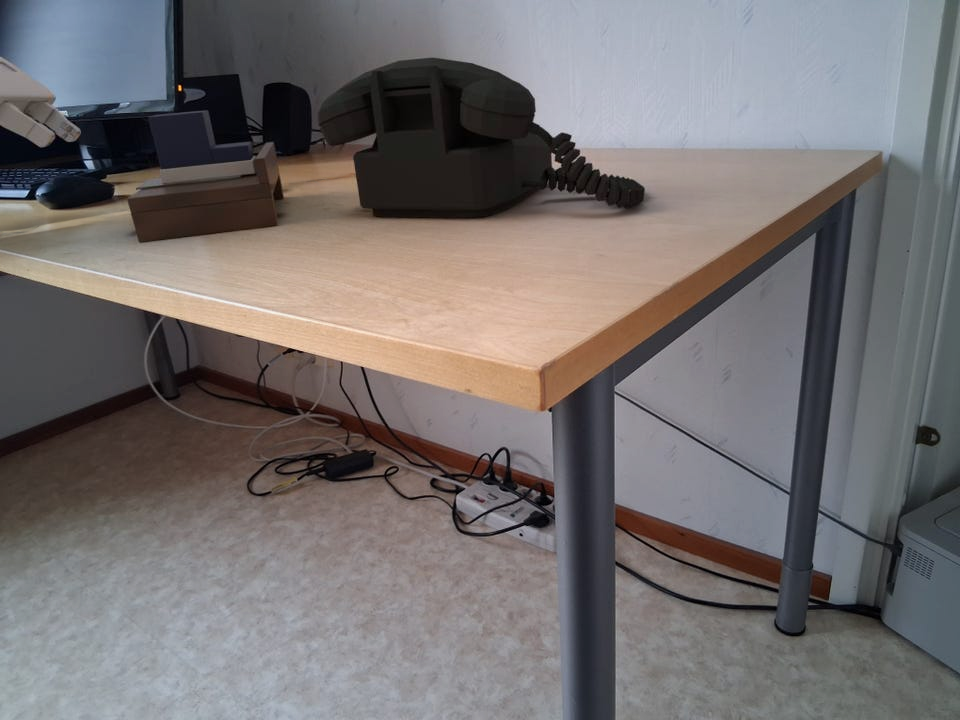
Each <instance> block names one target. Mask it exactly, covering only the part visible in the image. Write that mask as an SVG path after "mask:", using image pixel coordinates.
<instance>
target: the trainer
mask: <svg viewBox="0 0 960 720" xmlns="http://www.w3.org/2000/svg"><path fill="white" fill-rule="evenodd" d="M147 119H148V123H149V127H150V132H151V136H152V138H153V144H154V147H155V151H156V155H157V159H158V163H159V166H160V169H159V175H160V177H161V179H162V183H163V184H165V183H174V182H183V181H192V180H202V179H211V178H220V177H229V176H238V175H248V174H255V173H256V171H257V169H256V164H255V158H256V157H257V155H254V150H253V144H252V141H244V142H233V143H223V144H216V139H215V135H214V131H213V126H212V122H211V117H210V113H209V110H207V109H206V110H196V111H184V112H173V113H163V114H156V115H151V116H148V118H147Z"/></svg>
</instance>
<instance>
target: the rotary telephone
mask: <svg viewBox="0 0 960 720" xmlns="http://www.w3.org/2000/svg"><path fill="white" fill-rule="evenodd" d="M536 112H537V110H536V98H535V97H534V96H533V94H532V93H531V91H530V90H529V89H528V88H527V87H526V86H524V85H523V84H521V83H520V82H519V81H516V80H513V79H512V78H510V77H508V76H507V75H504V74H503V73H502V72H500V71H496V70H494V69H491V68H489V67H485V66H482V65H479V64H476V63H474V62H467V61H460V60H453V59H448V58H447V59H446V58H441V57H434V56H433V57H421V58H414V59H401V60H397V61H394V62H391V63H388V64H386V65H385V64H384V65H383V66H382V65H381V66H380V67H377V68H374V69H371V70H368V71H365V72H364V73H362V74H360V75H358V76H357V77H355V78H354V79H351V80H350V81H348V82H346V83H345V84H344V85H342V86H341V87H339V89H337V90H336V91H335V92H333V93H332V94H330V95H329V96H328V97H326V98H325V100H324V101H323V102H322V103H321V105H320V108H319V110H318V112H317V123H318V127H319V131H320V132H321V134H322V136H323V138H324V140H325V142H326V144H327V145H328V146H330V147H336V146H341V145H345V144H349V143H353V142H355V141H358V140H361V139H365V138H367V137H369V136H372V135H375V138H374V140H373V144H372V145H371V147H368V148H365V149H362V150H359V151H356V152H355V153H354V154H353V156H352V160H353V165H354V172H355V178H356V186H357V191H358V192H357V193H358V198H359V205H360V207H361V208H362V209H366V210H372V216H374V217H379V218H381V217H384V218H385V217H387V218H390V217H391V218H451V219H452V218H453V219H454V218H456V219H459V218H461V219H474V218H475V219H476V218H484V217H488V216H491V215H495V214H497V213H500V212H503V211H505V210H508V209H510V208H511V207H513V206H514V205H515V204H518V203H519V202H520V201H522V200H523V199H525V198H527V197H528V196H530V195H531V194H533V193H534V192H536V191H538V189H541V190H544V189H546V188H548V189H549V190H550V191H553V190H555V189H557V190H558V192H563V191H567V192H568V193H569V194H570V193H571V194H572V193H573V192H574V191H575V192H576V193H577V194H578V195H580V194H582V193H585V194H586V195H587V196H595V199H596V200H597V202H602V201H603V202H604V201H605V202H606V204H607V205H608V207H610V206H611V207H612V206H614V205H616V207H617V208H618V209H620V208H622V207H623V208H624V209H631V208H633V207H635V206H637V205H640V204H642V203H643V202H644V199H645V191H646V188H645V187H644V186H643V185H642V184H641V183H639V182H638V181H636V180H635V179H633V178H629V177H627V178H626V177H625V176H619V175H618V174H617V175H616V176H614V175H613V174H609V176H608V174H607V173H603V174H601V171H600V169H599V168H598V169H597V168H596V169H594V167H593V162H587V157H586V156H582V155H581V149H579V148H576V141H572V137H573V135H572V134H569V133H567V132H560V133H558V134H557V135H555V136H553V135H552V134H551V133H549V131H547V130H546V129H545V128H543V127H542V126H541V125H540V124H538V123H536V122H534V119H535V116H536V114H535V113H536ZM552 154H553V155H554V162H556V163H558V164H560V167H557V168H556V169H555V168H554V167H553V159H552V158H553V157H552V156H553V155H552Z"/></svg>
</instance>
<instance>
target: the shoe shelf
mask: <svg viewBox="0 0 960 720" xmlns="http://www.w3.org/2000/svg"><path fill="white" fill-rule="evenodd" d="M255 164H256V169H257V171H256V173H255V174H248V175H238V176H229V177H220V178H211V179H202V180H192V181H183V182H174V183H165V184H163V183H162V179H161V176H159V177H157V178H150V179H148V180H146V181H145V182H143V183H141V184H139V185H138V186H137V187H136V186H135V190H138V191H136V192H135V193H133V194H132V195H130V196H129V197H127V198H126V200H127V204H128V207H129V211H130V215H131V219H132V223H133V226H134V230H135V233H136V237H137V241H138V243H145V242H153V241H161V240H168V239H169V240H171V239H178V238H185V237H194V236H202V235H211V234H218V233H226V232H235V231H243V230H251V229H260V228H269V227H275V226H278V225H279V220H278V215H277V208H276V205H275V201H276V200H284V197H285V195H284V189H283V185H282V178H281V174H280V168H279V163H278V157H277V152H276V147H275V142H274V141H270V142H269V141H268V142H265V143H264V145H263V147H262V148H261V149H260V150H259V152H258V154H257V155H256V158H255Z"/></svg>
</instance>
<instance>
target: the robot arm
mask: <svg viewBox="0 0 960 720" xmlns="http://www.w3.org/2000/svg"><path fill="white" fill-rule="evenodd" d="M56 100H57V97H56V95H55V94H54V93H53V91H51V90H50V89H49V88H48V87H47V86H45V85H44V84H42V83H41V82H39V81H38V80H36V79H35V78H34V77H32V76H30V75H29V74H28V73H26V72H25V71H24V70H22V69H20V68H19V67H18V66H16V65H15V64H13V63H11V62H10V61H8V60H7V59H5V58H4V57H2V56H0V126H1V127H2V128H4V129H7V130H9V131H11V132H13V133H15V134H17V135H19V136H21V137H23V138H25V139H27V140H29V141H30V142H31V143H33V144H34V145H36V146H38V147H39V148H45V147H50V146H51V144H52V143H53V141H54V140H55V139H56V135H57V136H58V137H59V138H61V139H63V140H64V141H65V142H67V143H73V142H76V141H77V140H78V139H79V137H80V135H81V134H82V130H81V128H79V127H78V126H77V125H75V124H74V123H72V122H71V121H70V120H68V118H66V116H65V115H63V113H62V112H61V111H60V110H59V109H58V108H57V107H56V106H54V104H55V101H56ZM36 120H37V121H38V122H37V121H36ZM44 124H45V125H44ZM48 127H49V128H48Z"/></svg>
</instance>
